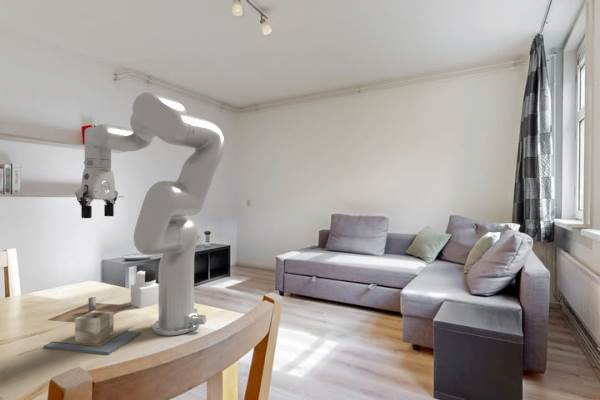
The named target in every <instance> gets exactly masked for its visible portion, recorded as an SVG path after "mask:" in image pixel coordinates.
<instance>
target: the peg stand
mask: <svg viewBox="0 0 600 400" xmlns="http://www.w3.org/2000/svg"><path fill="white" fill-rule="evenodd" d="M132 306H133V305H132V304H129V305H128V304H127V305H126V304H116V303H115V304H114V303H104V302H103V303H100V302H97V297H95V296H92V297H91V296H90V297H88V303H86V304H83V305H81V306H78V307H75V308H73V309H71V310H68V311H66V312H63V313H60V314H59V315H56V316H53V317H51V318H48V319H47V321H53V322H64V323H65V322H66V323H75V318H78V317H80V316H82V315H85V314H87V313H89V312H92V311H107V312H114V315H116V314H118V313H120V312H123V311H124V310H126V309H128V308H130V307H132Z"/></svg>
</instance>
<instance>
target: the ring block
mask: <svg viewBox="0 0 600 400" xmlns="http://www.w3.org/2000/svg"><path fill="white" fill-rule="evenodd" d="M114 315H115V314H114V312H107V311H92V312H89V313H87V314H85V315H82V316H80V317H78V318H75V322H74V339H75V341H74V342H75V343H84V344H98V343H100V342H101V341H104V340H106V339H107V338H109V337H111V336H112V335H114V330H115V329H114V328H115V327H114V317H115V316H114Z"/></svg>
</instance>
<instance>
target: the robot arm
mask: <svg viewBox="0 0 600 400" xmlns="http://www.w3.org/2000/svg"><path fill="white" fill-rule="evenodd" d="M129 123H130V127H131V128H127V127H123V126H118V125H113V124H107V123H100V124H97V125H96V126H91V127H87V128H85V130H84V161H83V164H84V168H83V171H82V178H81V188H79V189H77V190H76V191H74V195H75V197H76V200H77V202H78V203H79V206H81V208H80V210H81V211H80V212H81V213H80V216H81V219H92V217H93V216H92V215H93V214H92V213H93V210H92V205H91V203H92V202H93V201H94V200H101V201H103V202H104V203H105V204H104V205H103V207H104V209H103V210H104V211H103V212H104V217H114V216H115V211H114V210H115V208H114V207H115V205H116V201H117V200H118V195H119V192H118V191H117V190H116V183H115V176H114V171H113V170H112V150H118V151H125V152H135V151H139V150H143V149H145V148H148V147H150V145H151V144H152V143H153V141H154V138H155V137H157V138H158V139H160V140H161V141H163V142H165V143H167V144H170V145H173V146H178V147H179V146H180V147H185V148H192V149H194V152H192V154H190V155H189V157H188V158H186V160H185V161H184V163H183V165H182V167H181V171H180V173H179V177H178V178H177V179H176V180H161V181H158V182H156V183H154V184H153V185H152V186H150V187H149V188H148V190H147V191H146V194H145V196H144V199H143V201H142V205H141V207H140V211H139V214H138V218H137V221H136V224H135V227H134V231H133V243H134V247H135V249H136V251H138V252H139V253H140V254H142V255H146V256H152V255H159V254H162V255H161V258H160V261H159V264H158V284H159V304H158V320H157V321H155V322H153V324H152V332H153V333H155V334H157V335H160V336H178V335H182V334H186V333H190V332H192V331H194V330H195V329H197V328H198V327H199V326H200V325H206V323H207V316H206V314H199V312H198V308H195V254H196V253H195V252H196V248H197V242H198V236H199V234H198V233H199V232H198V227H197V224H196V223H195V222H194V220H193V219H191V218H189V217H191V216H195V215H197V214H199V213H200V212H202V209H203V207H204V204H205V202H206V199H207V196H208V194H209V190H210V188H211V185H212V183H213V182H212V181H213V179H214V176H215V173H216V171H217V169H218V167H219V165H220V163H221V161H222V159H223V156H224V153H225V147H226V142H225V137H224V133H223V132H222V130H221V129H220V127H219V126H218V125H216V124H215V123H213V122H212V121H210V120H208V119H204V118H202V117H199V116H196V115H191V114H188V113H187V110H186V108H185V106H184V105H183V104H182V103H181V102H179V101H178V100H177V99H174V98H170V97H168V96H164V95H161V94H158V93H155V92H151V91H147V92H142V93H140V94H139V95H137V96H136V97H135V99H134V101H133V103H132V114H131V116H130V119H129Z"/></svg>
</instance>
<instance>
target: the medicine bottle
mask: <svg viewBox="0 0 600 400" xmlns="http://www.w3.org/2000/svg"><path fill="white" fill-rule="evenodd" d="M156 273H157V272H156V270H153V269H142V270H139V271H137V272H136V273H135V276H136V277H135V283H134V284H131V286H130V305H132V306H135V307H137V309H138V308H139V309H143V308H147V307H151V306H154V305H159V283H156V281H157V280H156V278H157V277H156Z"/></svg>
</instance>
